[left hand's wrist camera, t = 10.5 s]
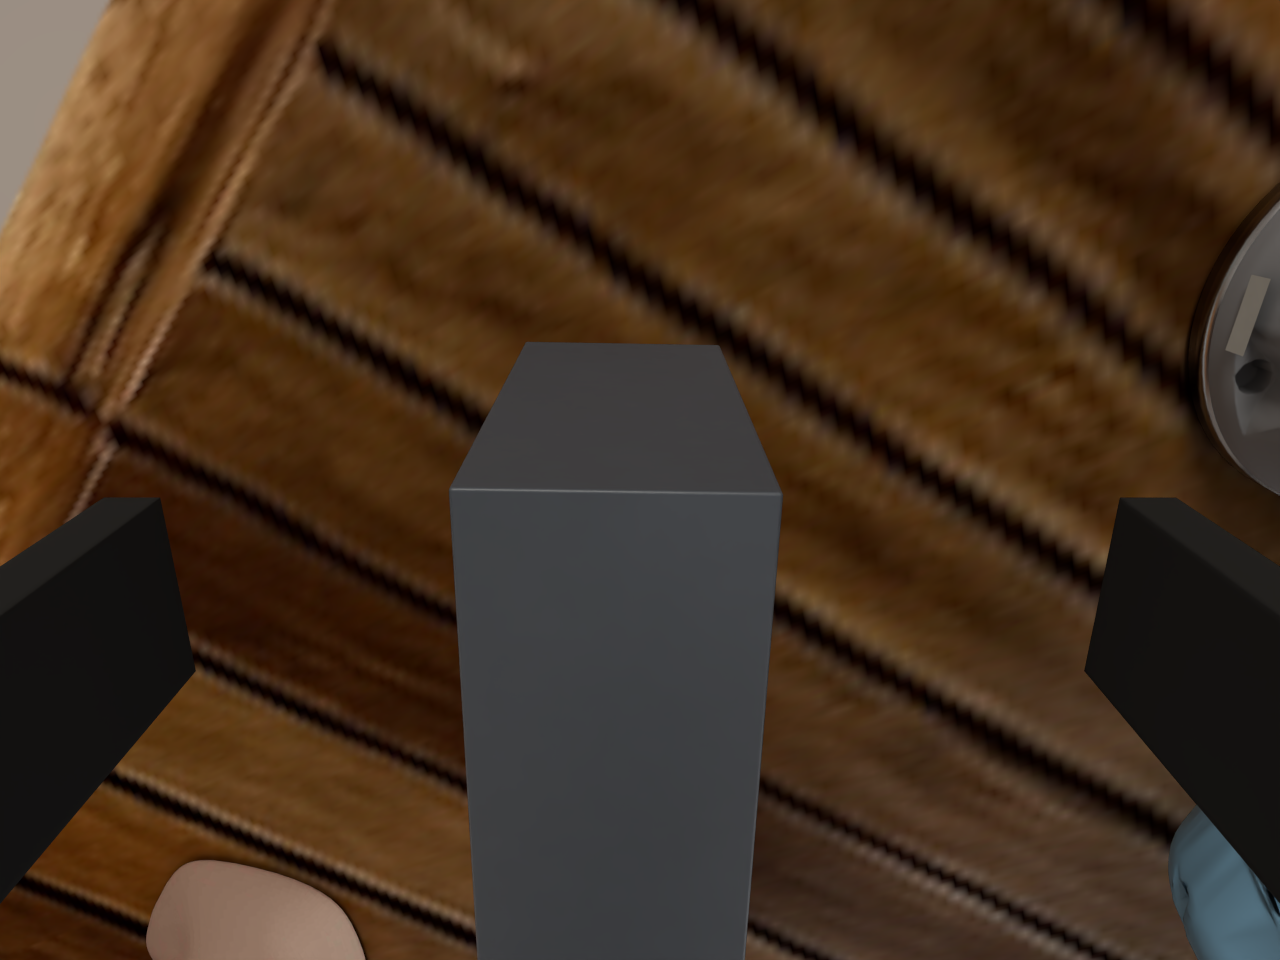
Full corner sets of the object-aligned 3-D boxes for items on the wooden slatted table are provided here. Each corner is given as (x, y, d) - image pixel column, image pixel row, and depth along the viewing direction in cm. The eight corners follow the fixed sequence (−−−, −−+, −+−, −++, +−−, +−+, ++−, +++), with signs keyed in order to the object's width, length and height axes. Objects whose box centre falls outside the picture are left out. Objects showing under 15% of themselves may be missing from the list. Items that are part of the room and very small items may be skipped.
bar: (525, 341, 21) (447, 488, 12) (720, 345, 21) (783, 492, 12) (544, 1045, 29) (506, 1437, 20) (683, 1046, 29) (705, 1436, 20)
